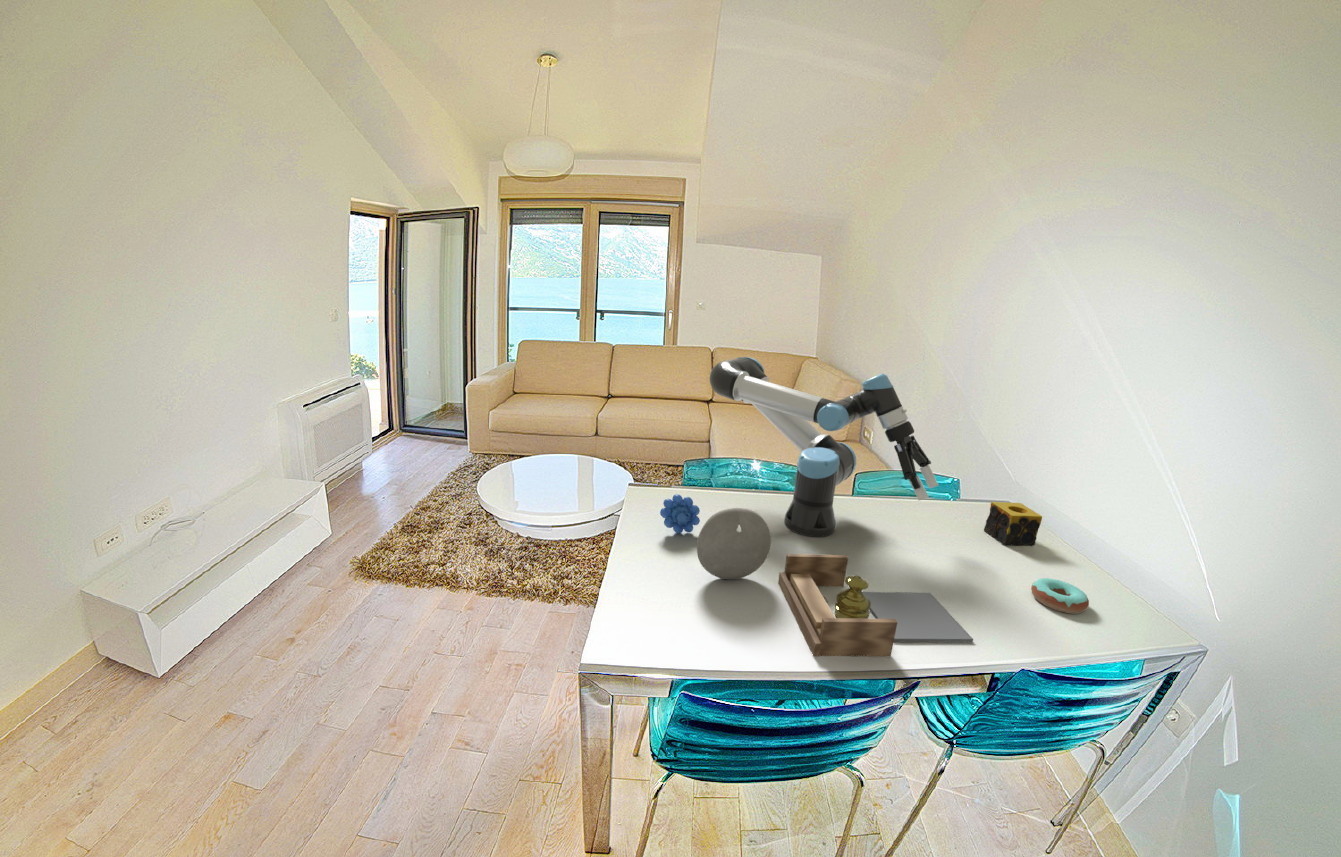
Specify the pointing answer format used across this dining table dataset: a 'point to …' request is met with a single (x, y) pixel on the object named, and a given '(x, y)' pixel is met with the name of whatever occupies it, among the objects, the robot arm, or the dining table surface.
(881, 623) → the offcut rack
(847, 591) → the gold rounded piece
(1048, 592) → the donut
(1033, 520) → the yellow brown cube
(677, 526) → the blue flower
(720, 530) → the grey thick disc
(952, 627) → the charcoal mat
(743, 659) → the dining table surface
